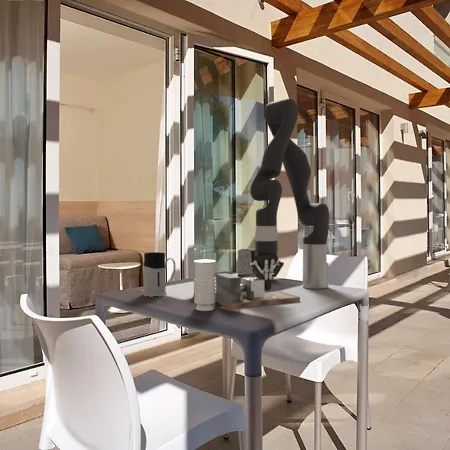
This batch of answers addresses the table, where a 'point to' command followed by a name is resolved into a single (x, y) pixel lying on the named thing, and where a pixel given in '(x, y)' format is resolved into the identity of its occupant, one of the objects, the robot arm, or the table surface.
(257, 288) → the white block
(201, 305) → the candle
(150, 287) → the grey handled cylinder
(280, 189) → the robot arm
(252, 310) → the table surface
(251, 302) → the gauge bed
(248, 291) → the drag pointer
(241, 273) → the coffee box
